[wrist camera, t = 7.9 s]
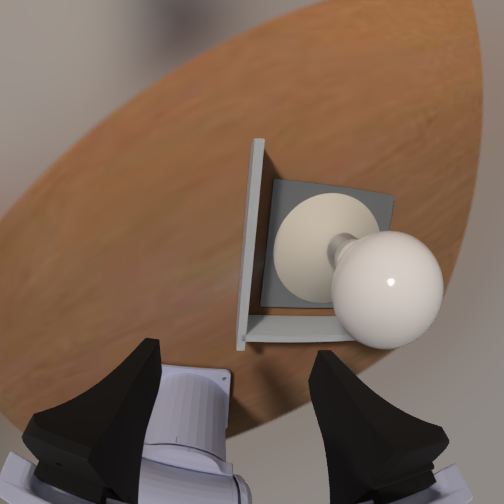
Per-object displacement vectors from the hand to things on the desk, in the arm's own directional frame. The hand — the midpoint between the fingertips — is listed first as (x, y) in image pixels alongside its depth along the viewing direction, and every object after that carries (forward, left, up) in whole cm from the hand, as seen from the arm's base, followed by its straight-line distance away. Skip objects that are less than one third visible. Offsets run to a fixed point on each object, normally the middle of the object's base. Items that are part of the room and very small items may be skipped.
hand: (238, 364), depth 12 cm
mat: (+3, -7, -10) cm, 13 cm away
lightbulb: (+3, -8, -10) cm, 13 cm away
